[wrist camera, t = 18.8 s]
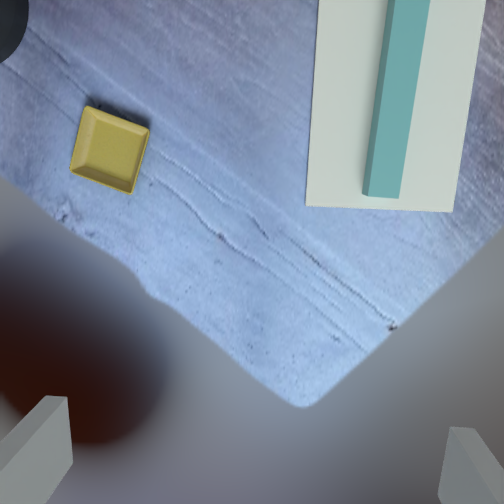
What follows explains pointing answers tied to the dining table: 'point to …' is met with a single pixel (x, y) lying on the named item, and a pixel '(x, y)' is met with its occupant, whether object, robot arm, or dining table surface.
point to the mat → (363, 96)
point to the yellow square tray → (109, 150)
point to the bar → (395, 96)
